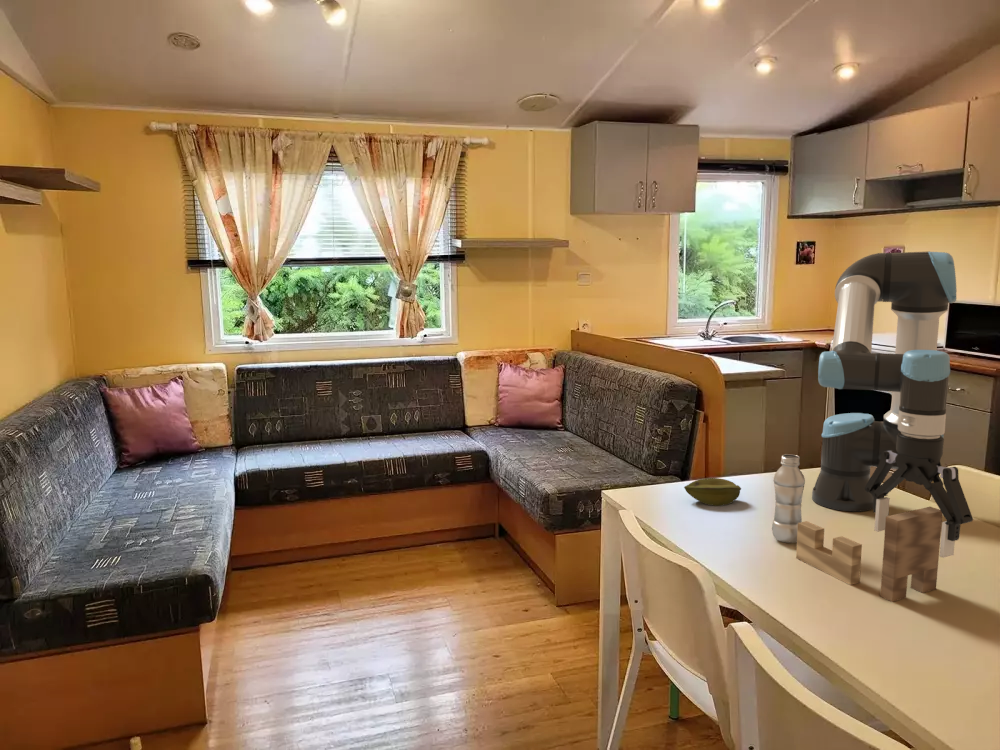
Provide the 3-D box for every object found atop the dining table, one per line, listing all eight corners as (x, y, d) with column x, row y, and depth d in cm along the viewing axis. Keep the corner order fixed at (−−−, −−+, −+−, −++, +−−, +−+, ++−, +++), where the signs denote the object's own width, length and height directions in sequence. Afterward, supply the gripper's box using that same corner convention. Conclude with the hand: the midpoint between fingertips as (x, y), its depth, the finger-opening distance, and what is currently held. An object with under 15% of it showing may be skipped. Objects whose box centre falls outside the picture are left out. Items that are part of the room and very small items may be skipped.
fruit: (725, 513, 180) (726, 488, 179) (682, 503, 188) (682, 479, 187) (744, 501, 189) (744, 477, 187) (702, 491, 197) (702, 469, 195)
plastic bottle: (805, 547, 158) (809, 461, 155) (773, 545, 159) (777, 460, 156) (799, 536, 164) (803, 452, 161) (768, 534, 166) (772, 452, 162)
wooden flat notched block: (924, 583, 140) (930, 506, 137) (936, 589, 137) (942, 510, 135) (880, 596, 135) (885, 516, 132) (891, 601, 133) (897, 520, 130)
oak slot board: (804, 556, 154) (806, 521, 152) (859, 582, 141) (861, 544, 139) (796, 558, 153) (797, 522, 151) (850, 585, 140) (852, 546, 139)
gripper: (849, 422, 141) (843, 523, 144) (973, 452, 118) (963, 571, 122) (876, 418, 144) (870, 517, 147) (1003, 447, 121) (992, 563, 125)
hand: (912, 542), depth 135 cm, fingers open, 13 cm apart
